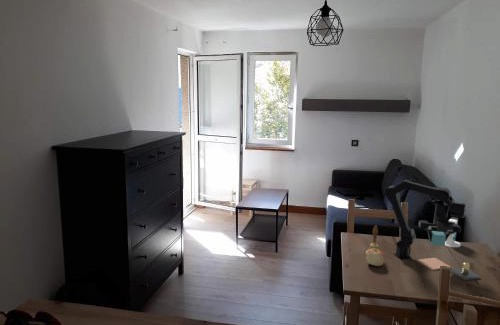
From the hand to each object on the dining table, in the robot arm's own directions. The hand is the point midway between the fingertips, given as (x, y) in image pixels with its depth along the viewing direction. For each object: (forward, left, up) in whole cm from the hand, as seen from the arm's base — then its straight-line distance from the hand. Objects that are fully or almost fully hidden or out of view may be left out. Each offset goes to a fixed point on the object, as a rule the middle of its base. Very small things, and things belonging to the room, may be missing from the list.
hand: (437, 242), depth 196 cm
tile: (0, 0, -12) cm, 12 cm away
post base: (+7, -13, -12) cm, 19 cm away
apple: (-31, +6, -13) cm, 34 cm away
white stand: (+30, +22, -13) cm, 39 cm away
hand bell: (-24, +18, -13) cm, 33 cm away
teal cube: (0, 0, -1) cm, 0 cm away
